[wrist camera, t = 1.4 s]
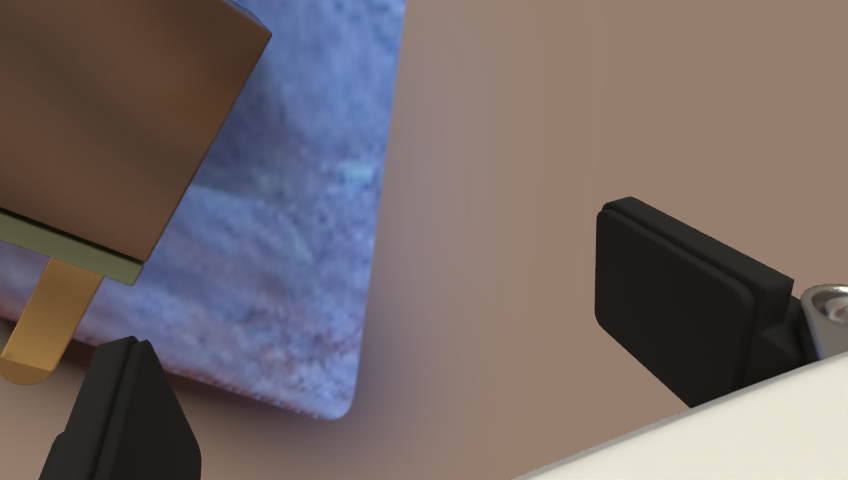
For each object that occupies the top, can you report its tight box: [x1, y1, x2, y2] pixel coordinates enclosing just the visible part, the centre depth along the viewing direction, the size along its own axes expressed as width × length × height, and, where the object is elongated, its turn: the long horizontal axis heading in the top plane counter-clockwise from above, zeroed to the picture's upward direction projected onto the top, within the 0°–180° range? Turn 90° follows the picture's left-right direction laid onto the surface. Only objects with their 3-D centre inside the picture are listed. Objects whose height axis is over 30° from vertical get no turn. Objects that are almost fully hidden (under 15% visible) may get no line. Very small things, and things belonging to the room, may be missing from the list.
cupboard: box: [0, 0, 272, 262], centre depth 22 cm, size 10×14×14 cm
